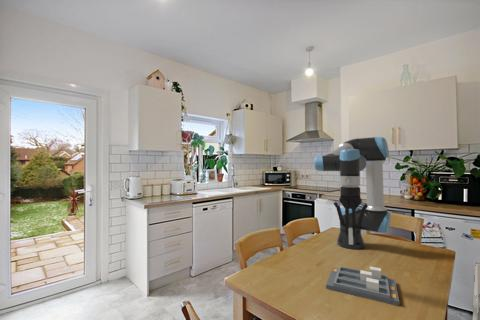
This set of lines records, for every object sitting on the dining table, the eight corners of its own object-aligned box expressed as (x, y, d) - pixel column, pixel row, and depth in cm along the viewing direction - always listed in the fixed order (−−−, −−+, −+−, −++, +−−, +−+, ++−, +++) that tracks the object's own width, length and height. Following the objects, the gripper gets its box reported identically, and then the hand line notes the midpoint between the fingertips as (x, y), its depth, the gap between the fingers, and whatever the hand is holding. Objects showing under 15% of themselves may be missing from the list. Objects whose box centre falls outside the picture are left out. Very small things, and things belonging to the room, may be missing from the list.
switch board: (333, 270, 109) (332, 264, 109) (395, 283, 97) (395, 276, 97) (326, 288, 93) (326, 281, 93) (399, 306, 81) (399, 298, 81)
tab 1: (360, 280, 97) (360, 270, 97) (371, 282, 95) (371, 272, 95) (360, 283, 94) (360, 273, 94) (371, 285, 92) (371, 275, 92)
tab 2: (370, 275, 100) (369, 266, 100) (381, 278, 98) (380, 268, 98) (369, 278, 98) (369, 269, 98) (381, 281, 96) (381, 271, 96)
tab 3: (366, 288, 90) (366, 277, 90) (378, 290, 88) (378, 279, 88) (366, 291, 88) (366, 280, 88) (378, 294, 86) (378, 283, 86)
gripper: (331, 186, 98) (332, 243, 97) (367, 187, 91) (368, 249, 91) (334, 185, 104) (335, 238, 104) (368, 186, 98) (369, 243, 97)
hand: (351, 243), depth 97 cm, fingers closed
